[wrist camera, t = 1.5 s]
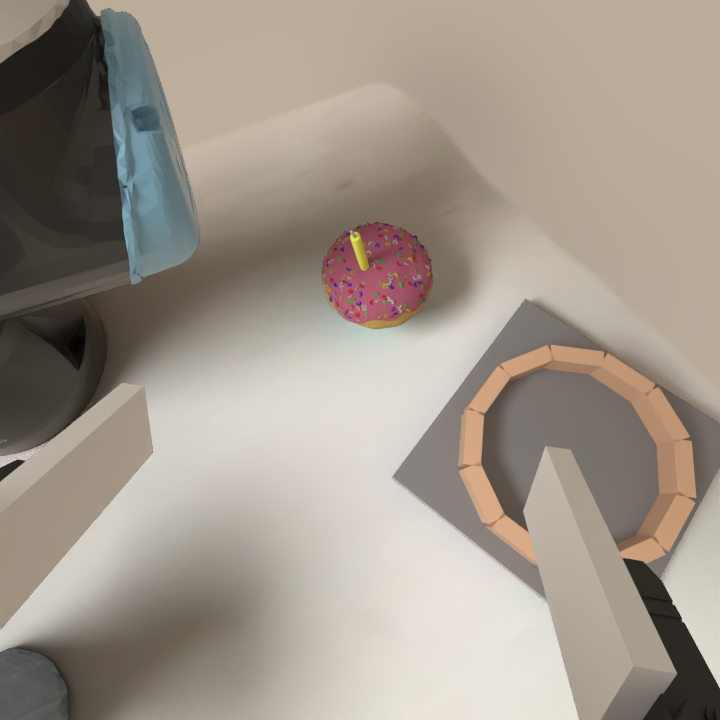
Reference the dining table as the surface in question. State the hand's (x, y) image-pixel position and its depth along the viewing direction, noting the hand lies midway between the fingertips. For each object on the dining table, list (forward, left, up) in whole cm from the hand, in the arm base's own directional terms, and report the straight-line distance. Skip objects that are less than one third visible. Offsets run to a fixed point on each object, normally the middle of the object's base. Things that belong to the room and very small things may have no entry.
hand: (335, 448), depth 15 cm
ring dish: (+11, +11, -20) cm, 26 cm away
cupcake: (-8, +13, -20) cm, 26 cm away
